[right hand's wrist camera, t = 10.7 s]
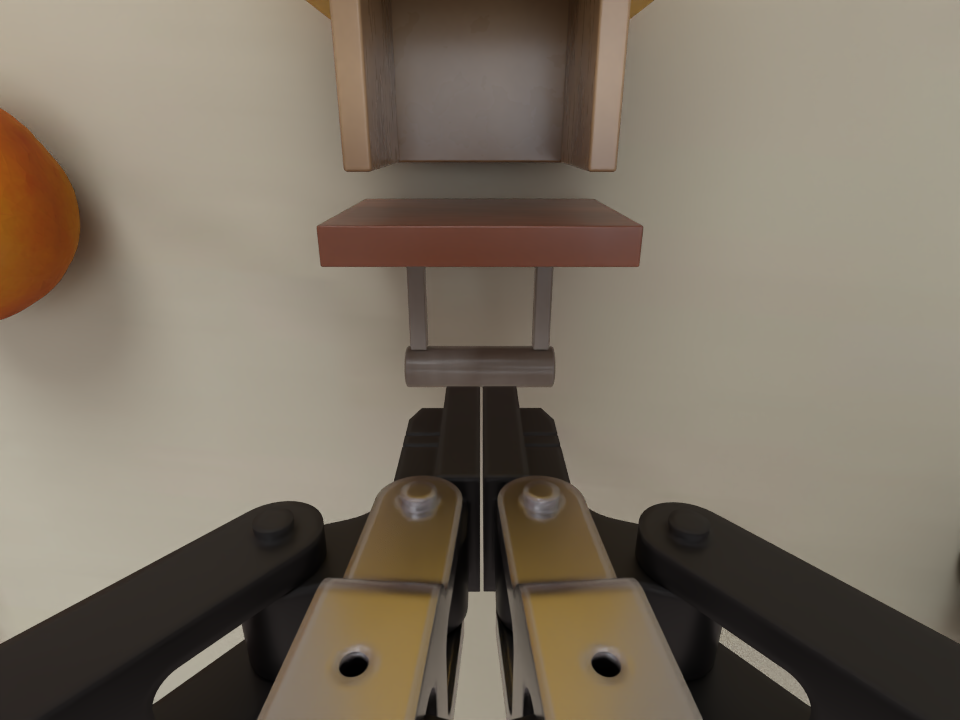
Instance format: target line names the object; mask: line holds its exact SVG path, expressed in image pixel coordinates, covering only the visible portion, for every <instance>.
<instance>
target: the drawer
mask: <svg viewBox="0 0 960 720" xmlns="http://www.w3.org/2000/svg"><path fill="white" fill-rule="evenodd" d="M329 3H330V15H331V26H332V38H333V50H334V61H335V73H336V85H337V96H338V108H339V120H340V131H341V143H342V155H343V166H344V170H345V171H347V172H369V171H372V170H376V169H379V168H382V167H385V166H388V165H391V164H394V163H397V162H562V163H565V164H568V165H572V166H575V167H578V168H581V169H584V170H587V171H590V172H614V171H616V167H617V156H618V144H619V132H620V121H621V109H622V98H623V86H624V74H625V63H626V51H627V40H628V28H629V16H630V5H631V0H329ZM317 235H318V245H319V254H320V263H321V266H322V267H407V283H408V304H409V324H410V344H411V346H408V347H407V349H406V353H405V380H406V384H407V386H408V387H447V386H480V387H483V386H516V387H552V386H553V384H554V380H555V354H554V349H553V347H551V346H549V341H550V321H551V301H552V281H553V267H638V266H639V263H640V253H641V244H642V235H643V226H642V225H640V224H638V223H636V222H635V221H633V220H631V219H629V218H627V217H626V216H624V215H622V214H620V213H618V212H617V211H615V210H613V209H611V208H609V207H608V206H606V205H604V204H602V203H600V202H599V201H597V200H595V199H365V200H363V201H361V202H360V203H358V204H356V205H354V206H352V207H350V208H349V209H347V210H345V211H343V212H341V213H340V214H338V215H336V216H334V217H332V218H331V219H329V220H327V221H325V222H323V223H322V224H320V225H318V226H317ZM425 267H535V272H534V299H533V326H532V346H428V326H427V299H426V271H425Z"/></svg>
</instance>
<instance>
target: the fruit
mask: <svg viewBox="0 0 960 720" xmlns="http://www.w3.org/2000/svg"><path fill="white" fill-rule="evenodd" d="M79 234H80V217H79V209H78V204H77V200H76V196H75V192H74V189H73V187H72V185H71V183H70V181H69V179H68V177H67V175H66V174H65V172H64V171H63V169H62V168H61V167H60V165H59V164H58V163H57V161H56V160H55V159H54V158H53V157H52V156H51V155H50V154H49V152H48V151H47V150H46V149H45V147H44V146H43V145H42V144H41V143H40V142H39V141H38V140H37V139H36V138H35V137H34V135H33V134H32V133H31V132H30V131H29V130H28V129H27V128H26V127H25V126H23V125H22V124H21V123H20V122H19V121H17V120H16V119H15V118H14V117H13V116H11V115H10V114H9V113H7V112H6V111H4V110H2V109H1V108H0V320H2V319H5V318H7V317H10V316H12V315H14V314H16V313H18V312H20V311H22V310H24V309H25V308H27V307H29V306H30V305H32V304H33V303H35V302H36V301H38V300H39V299H41V298H42V297H44V296H45V295H46V294H47V293H49V292H50V291H51V290H52V289H53V288H54V287H55V286H56V285H57V283H58V282H59V281H60V280H61V279H62V277H63V275H64V274H65V272H66V271H67V268H68V266H69V265H70V263H71V262H72V260H73V257H74V255H75V252H76V250H77V247H78V242H79Z"/></svg>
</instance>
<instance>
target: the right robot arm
mask: <svg viewBox="0 0 960 720" xmlns="http://www.w3.org/2000/svg"><path fill="white" fill-rule="evenodd" d="M483 562H484V591H496V638H497V646H498V654H499V662H500V670H501V678H502V686H503V695H504V703H505V711H506V719H507V720H960V644H959V643H957V642H955V641H953V640H951V639H949V638H947V637H946V636H944V635H942V634H940V633H938V632H936V631H934V630H932V629H931V628H929V627H927V626H925V625H923V624H921V623H919V622H917V621H916V620H914V619H912V618H910V617H908V616H906V615H904V614H902V613H901V612H899V611H897V610H895V609H893V608H891V607H889V606H887V605H886V604H884V603H882V602H880V601H878V600H876V599H874V598H872V597H871V596H869V595H867V594H865V593H863V592H861V591H859V590H857V589H856V588H854V587H852V586H850V585H848V584H846V583H844V582H842V581H841V580H839V579H837V578H835V577H833V576H831V575H829V574H827V573H826V572H824V571H822V570H820V569H818V568H816V567H814V566H812V565H811V564H809V563H807V562H805V561H803V560H801V559H799V558H797V557H796V556H794V555H792V554H790V553H788V552H786V551H784V550H782V549H781V548H779V547H777V546H775V545H773V544H771V543H769V542H767V541H766V540H764V539H762V538H760V537H758V536H756V535H754V534H752V533H751V532H749V531H747V530H745V529H743V528H741V527H739V526H737V525H736V524H734V523H732V522H730V521H728V520H726V519H724V518H722V517H721V516H719V515H717V514H715V513H713V512H711V511H709V510H707V509H704V508H701V507H698V506H695V505H691V504H686V503H676V502H669V503H661V504H657V505H653V506H651V507H649V508H648V509H646V510H645V511H644V512H643V513H642V515H641V516H640V519H639V524H635V523H630V522H626V521H621V520H616V519H613V518H609V517H606V516H603V515H600V514H598V513H596V512H594V511H592V510H590V509H589V508H588V506H587V504H586V501H585V499H584V497H583V495H582V493H581V492H580V491H579V490H578V489H577V488H576V487H574V486H573V485H571V484H570V480H569V476H568V473H567V469H566V465H565V461H564V457H563V453H562V450H561V447H560V442H559V438H558V436H557V430H556V427H555V423H554V419H552V418H551V417H550V416H549V415H548V414H547V413H546V412H545V411H544V410H542V409H541V408H519V402H518V395H517V388H516V386H483ZM468 592H480V386H447V388H446V395H445V402H444V408H422V409H421V410H420V411H418V412H417V413H416V414H415V415H414V416H413V417H412V418H411V419H410V420H409V423H408V427H407V431H406V436H405V439H404V443H403V447H402V451H401V455H400V459H399V463H398V467H397V471H396V475H395V479H394V482H392V483H390V484H389V485H387V486H386V487H384V488H383V489H382V490H381V491H380V492H379V493H378V495H377V497H376V499H375V501H374V504H373V506H372V509H371V511H370V512H369V513H366V514H364V515H362V516H359V517H356V518H352V519H348V520H344V521H339V522H335V523H330V524H325V525H324V523H323V517H322V515H321V513H320V512H319V511H318V510H317V509H316V508H315V507H313V506H311V505H309V504H306V503H303V502H296V501H284V502H276V503H271V504H267V505H263V506H260V507H258V508H255V509H253V510H251V511H249V512H247V513H245V514H243V515H241V516H239V517H238V518H236V519H234V520H232V521H230V522H228V523H226V524H224V525H223V526H221V527H219V528H217V529H215V530H213V531H211V532H209V533H208V534H206V535H204V536H202V537H200V538H198V539H196V540H194V541H193V542H191V543H189V544H187V545H185V546H183V547H181V548H179V549H178V550H176V551H174V552H172V553H170V554H168V555H166V556H164V557H163V558H161V559H159V560H157V561H155V562H153V563H151V564H149V565H148V566H146V567H144V568H142V569H140V570H138V571H136V572H134V573H133V574H131V575H129V576H127V577H125V578H123V579H121V580H119V581H118V582H116V583H114V584H112V585H110V586H108V587H106V588H104V589H103V590H101V591H99V592H97V593H95V594H93V595H91V596H89V597H88V598H86V599H84V600H82V601H80V602H78V603H76V604H74V605H73V606H71V607H69V608H67V609H65V610H63V611H61V612H59V613H58V614H56V615H54V616H52V617H50V618H48V619H46V620H45V621H43V622H41V623H39V624H37V625H35V626H33V627H31V628H30V629H28V630H26V631H24V632H22V633H20V634H18V635H16V636H15V637H13V638H11V639H9V640H7V641H5V642H3V643H1V644H0V720H453V719H454V711H455V703H456V695H457V686H458V678H459V670H460V662H461V654H462V646H463V638H464V618H465V616H466V613H467V609H468ZM241 624H242V627H243V632H244V637H245V640H243V641H242V642H240V643H239V644H238V645H236V646H235V647H233V648H232V649H231V650H229V651H228V652H226V653H225V654H224V655H222V656H221V657H219V658H218V659H216V660H215V661H214V662H212V663H211V664H209V665H208V666H207V667H205V668H204V669H202V670H201V671H200V672H198V673H197V674H195V675H194V676H193V677H191V678H190V679H188V680H187V681H186V682H184V683H183V684H181V685H180V686H179V687H177V688H176V689H174V690H173V691H172V692H170V693H169V694H167V695H166V696H164V697H163V698H162V699H160V700H159V701H157V702H156V703H154V704H153V700H154V697H155V694H156V692H157V690H158V689H159V687H160V685H161V684H162V683H163V681H164V680H165V679H166V678H167V677H168V676H169V675H170V674H171V673H172V672H173V671H174V670H176V669H177V668H178V667H180V666H181V665H183V664H184V663H186V662H187V661H189V660H190V659H191V658H193V657H194V656H196V655H197V654H199V653H200V652H202V651H203V650H205V649H206V648H207V647H209V646H210V645H212V644H213V643H215V642H216V641H218V640H219V639H221V638H222V637H223V636H225V635H226V634H228V633H229V632H231V631H232V630H234V629H235V628H237V627H238V626H240V625H241ZM722 627H723V628H725V629H726V630H728V631H729V632H731V633H732V634H734V635H735V636H737V637H738V638H739V639H741V640H742V641H744V642H745V643H747V644H748V645H750V646H751V647H753V648H754V649H755V650H757V651H758V652H760V653H761V654H763V655H764V656H766V657H767V658H769V659H770V660H771V661H773V662H774V663H776V664H777V665H779V666H780V667H782V668H783V669H785V670H786V671H787V672H789V673H790V674H791V675H792V676H793V677H794V678H795V679H796V680H797V681H798V682H799V683H800V684H801V686H802V687H803V689H804V690H805V692H806V694H807V696H808V698H809V700H810V704H811V707H810V706H808V705H807V704H805V703H804V702H803V701H801V700H800V699H798V698H797V697H796V696H794V695H793V694H791V693H790V692H788V691H787V690H786V689H784V688H783V687H781V686H780V685H779V684H777V683H776V682H774V681H773V680H772V679H770V678H769V677H767V676H766V675H765V674H763V673H762V672H760V671H759V670H758V669H756V668H755V667H753V666H752V665H751V664H749V663H748V662H746V661H745V660H744V659H742V658H741V657H739V656H738V655H736V654H735V653H734V652H732V651H731V650H729V649H728V648H727V647H725V646H724V645H722V644H721V643H720V642H719V638H720V634H721V629H722Z"/></svg>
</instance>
